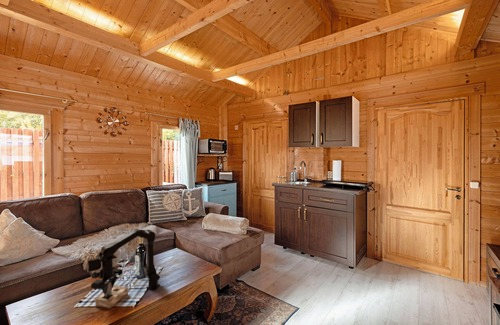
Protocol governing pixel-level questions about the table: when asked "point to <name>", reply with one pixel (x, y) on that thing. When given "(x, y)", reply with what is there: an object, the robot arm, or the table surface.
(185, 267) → the table surface
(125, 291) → the bore block
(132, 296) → the table surface
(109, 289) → the peg
